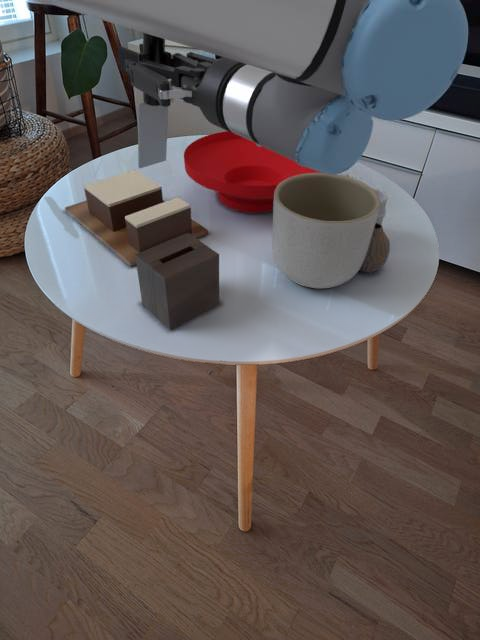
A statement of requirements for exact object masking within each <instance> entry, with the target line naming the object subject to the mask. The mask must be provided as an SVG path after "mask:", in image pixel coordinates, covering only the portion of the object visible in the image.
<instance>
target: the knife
mask: <svg viewBox="0 0 480 640" xmlns="http://www.w3.org/2000/svg"><path fill="white" fill-rule="evenodd" d="M142 44H143V53H146V56H148V57H149V61H153V62H156V63H160V64H163V65H164V60H165V51H166V39H163V38H160V37H156V36H153V35H150V34H146V33H143V32H142ZM142 93H143V94H142V96H143V97H142V98H143V99H142V100H143V102H141V103H137V157H138V158H137V160H138V161H137V162H138V163H137V165H138V166H137V167H138V169H143V168H146V167H149V166H152V165H156V164H159V163H162V162H163V163H164V162H166V161H167V152H168V151H167V149H168V148H167V147H168V118H169V106H168V107H164V106H161V105H160V103H159V101H158V100H156V99H155V98H153V97H151V96H149V95H148V94H146V93H144V92H142Z"/></svg>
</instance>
